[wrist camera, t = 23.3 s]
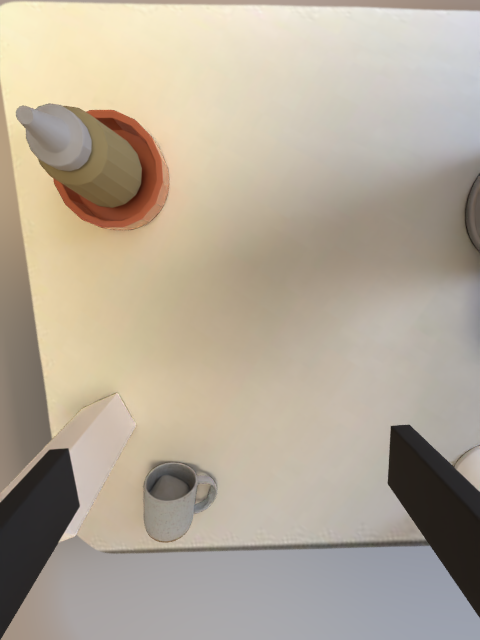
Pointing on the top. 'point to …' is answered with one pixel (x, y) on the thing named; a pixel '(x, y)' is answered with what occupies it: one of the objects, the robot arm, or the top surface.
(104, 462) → the milk
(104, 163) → the squeeze bottle
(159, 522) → the ceramic mug
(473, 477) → the candlestick
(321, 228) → the top surface
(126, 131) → the holder
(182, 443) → the top surface
